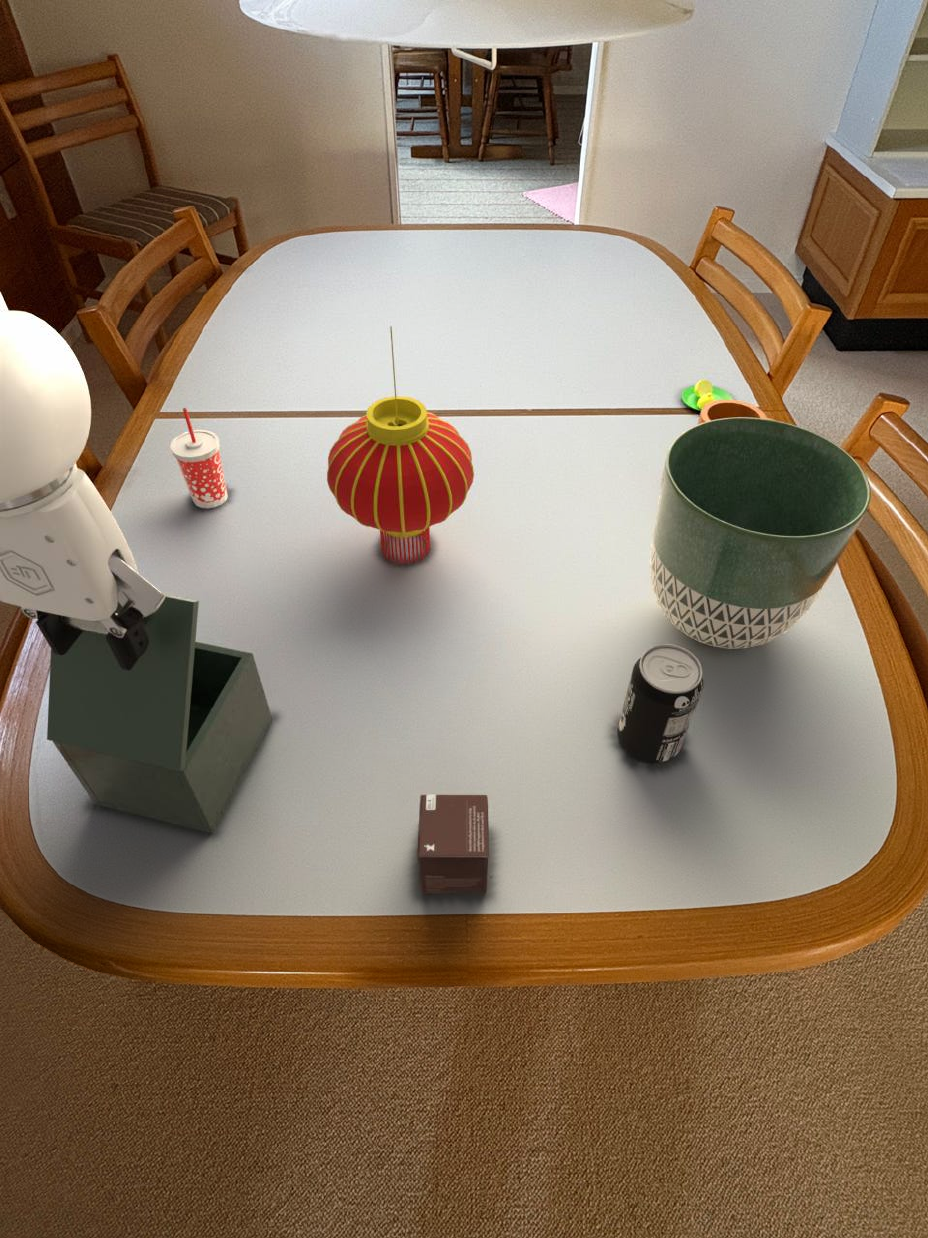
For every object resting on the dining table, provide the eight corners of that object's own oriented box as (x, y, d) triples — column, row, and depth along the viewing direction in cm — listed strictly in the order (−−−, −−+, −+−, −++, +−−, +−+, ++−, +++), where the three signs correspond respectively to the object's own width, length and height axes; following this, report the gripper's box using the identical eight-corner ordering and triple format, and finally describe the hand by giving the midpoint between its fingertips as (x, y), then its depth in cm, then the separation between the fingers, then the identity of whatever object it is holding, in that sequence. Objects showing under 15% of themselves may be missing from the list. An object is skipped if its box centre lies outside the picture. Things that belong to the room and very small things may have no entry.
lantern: (486, 517, 105) (493, 299, 83) (450, 607, 94) (447, 382, 72) (367, 495, 108) (343, 279, 86) (318, 580, 97) (276, 356, 75)
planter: (673, 543, 102) (713, 396, 86) (822, 606, 94) (895, 458, 79) (601, 634, 91) (631, 486, 75) (763, 714, 83) (834, 567, 68)
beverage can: (616, 711, 84) (634, 636, 75) (678, 718, 83) (705, 644, 74) (615, 763, 79) (635, 691, 70) (681, 771, 79) (710, 699, 70)
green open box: (164, 695, 85) (134, 628, 77) (272, 719, 83) (252, 653, 75) (94, 804, 76) (51, 741, 68) (213, 834, 74) (184, 772, 66)
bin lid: (60, 573, 65) (17, 580, 61) (199, 600, 63) (165, 610, 58) (53, 736, 68) (11, 755, 63) (185, 768, 66) (152, 790, 61)
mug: (774, 497, 108) (794, 442, 102) (685, 485, 110) (700, 430, 104) (771, 459, 114) (790, 405, 108) (687, 448, 116) (701, 394, 109)
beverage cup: (218, 516, 105) (192, 426, 95) (179, 506, 107) (149, 417, 96) (241, 489, 109) (219, 400, 99) (203, 480, 111) (176, 392, 100)
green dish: (670, 394, 126) (674, 379, 124) (711, 383, 128) (715, 368, 126) (700, 420, 121) (705, 404, 119) (742, 408, 123) (747, 392, 121)
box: (487, 896, 70) (489, 859, 65) (419, 895, 70) (416, 857, 65) (486, 833, 74) (488, 793, 69) (422, 832, 74) (420, 792, 69)
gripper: (-156, 476, 48) (-21, 663, 61) (93, 524, 45) (177, 709, 59) (-71, 409, 53) (37, 596, 66) (159, 448, 50) (223, 635, 63)
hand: (102, 647), depth 62 cm, fingers closed on bin lid, 5 cm apart
